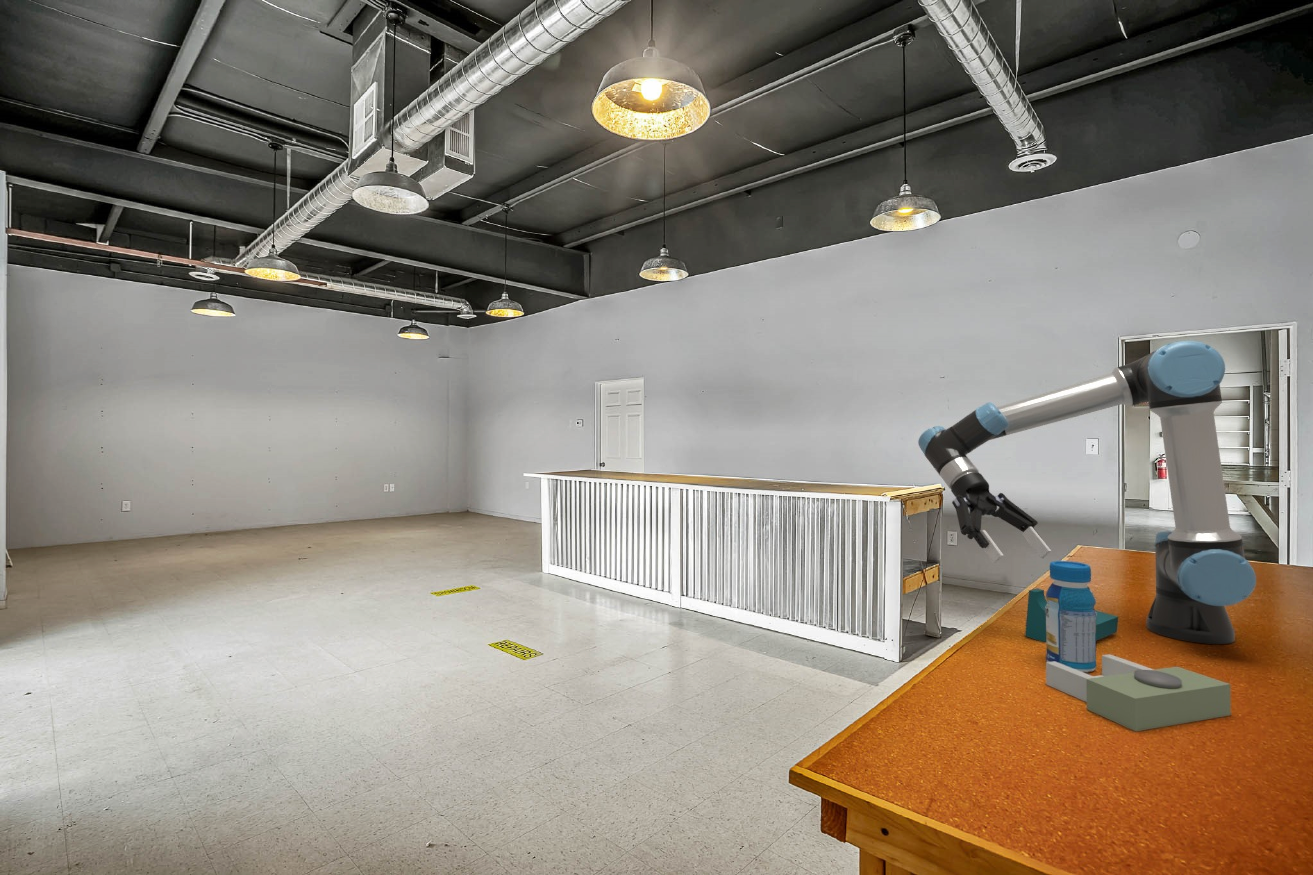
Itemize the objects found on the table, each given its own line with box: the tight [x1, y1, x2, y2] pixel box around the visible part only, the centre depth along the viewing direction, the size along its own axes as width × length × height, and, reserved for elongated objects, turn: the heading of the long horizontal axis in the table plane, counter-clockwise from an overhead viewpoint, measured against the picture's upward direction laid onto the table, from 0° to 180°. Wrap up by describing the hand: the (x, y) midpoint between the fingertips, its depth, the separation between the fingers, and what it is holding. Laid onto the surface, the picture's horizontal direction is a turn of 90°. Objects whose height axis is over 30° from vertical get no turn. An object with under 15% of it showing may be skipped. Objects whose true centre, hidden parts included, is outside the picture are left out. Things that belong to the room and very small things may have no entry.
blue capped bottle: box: [1045, 560, 1097, 673], centre depth 121 cm, size 8×8×20 cm
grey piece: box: [1045, 653, 1232, 732], centre depth 105 cm, size 20×18×6 cm
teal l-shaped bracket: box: [1024, 587, 1119, 644], centre depth 138 cm, size 18×11×10 cm, turn 123°
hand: (1022, 557), depth 131 cm, fingers open, 13 cm apart
